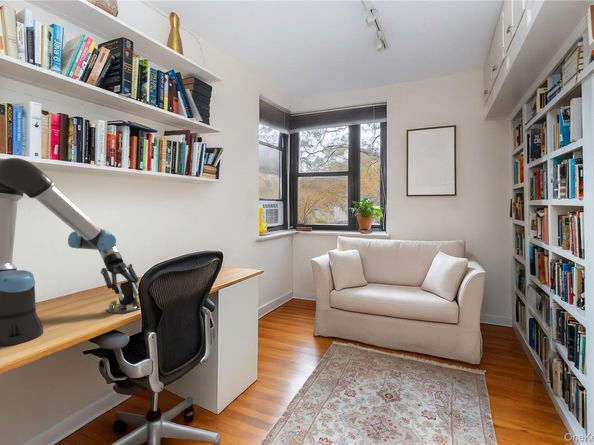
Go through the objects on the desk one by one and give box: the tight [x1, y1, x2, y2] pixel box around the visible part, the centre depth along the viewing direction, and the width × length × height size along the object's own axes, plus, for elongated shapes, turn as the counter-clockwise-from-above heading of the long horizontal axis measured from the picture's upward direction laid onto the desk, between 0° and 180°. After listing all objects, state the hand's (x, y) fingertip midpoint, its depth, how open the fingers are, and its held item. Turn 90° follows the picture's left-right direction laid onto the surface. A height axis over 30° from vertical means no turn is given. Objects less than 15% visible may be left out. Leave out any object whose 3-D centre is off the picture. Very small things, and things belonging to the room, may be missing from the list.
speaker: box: [118, 280, 135, 306], centre depth 148 cm, size 8×6×10 cm
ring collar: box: [107, 296, 141, 315], centre depth 148 cm, size 15×15×3 cm
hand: (129, 297), depth 146 cm, fingers closed on speaker, 6 cm apart
